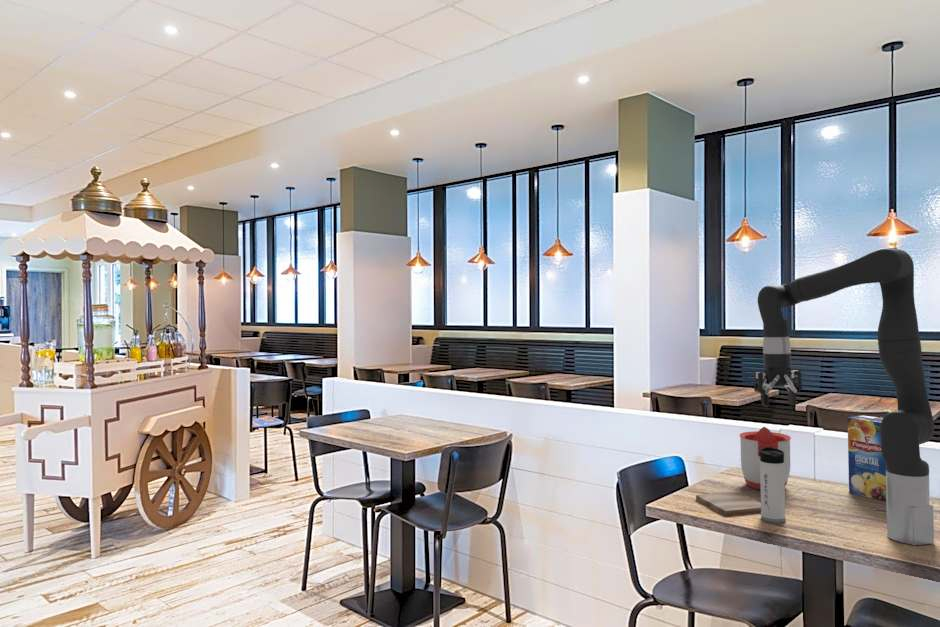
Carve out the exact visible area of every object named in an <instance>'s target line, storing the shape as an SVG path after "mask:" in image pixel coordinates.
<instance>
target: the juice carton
mask: <svg viewBox="0 0 940 627" xmlns="http://www.w3.org/2000/svg"><path fill="white" fill-rule="evenodd" d="M883 418H884V417H877V416H868V415H864V414H863V415H855V416H850V417H849V416H848V417H847V443H848V444H847V448H848V449H847V452H848V453H847V454H848V455H847V456H848V457H847V458H848V460H847V461H848V462H847V463H848V493H850V494H854V495H858V496H862V497H865V498H869V499H874V500H876V501H880V502H881V501H882V502H885V503H886V464H885V462H884V460H883V457H882V448H881V433H880V429H881V422H882V419H883Z"/></svg>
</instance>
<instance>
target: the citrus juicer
mask: <svg viewBox="0 0 940 627" xmlns="http://www.w3.org/2000/svg"><path fill="white" fill-rule="evenodd" d="M739 437H740V440H739V441H740V466H741V472H742V475H743V478H744V481H745V483H746V485H747V486H748V487H751V488H753V489H754V490H761V482H760V458H761V457H760V450H761V449H763V448H765V447H772V448H775V449H779V450H781V451H783V452H784V469H785V487H786V486H787V484H788V481H789V477H790V473H791V472H790V471H791V439H792V438H791V436H789V435H787V434H786V433H785V434H784V433H781V432H773V431H771V430H770V429H768V428H767V427H766V426H762V428H760V429H759V430H758V431H755V430H754V431H745V432H741V433H739Z"/></svg>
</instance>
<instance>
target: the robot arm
mask: <svg viewBox="0 0 940 627" xmlns="http://www.w3.org/2000/svg"><path fill="white" fill-rule="evenodd" d="M914 265H915V264H914V260H913V258H912V256H911V255H910V254H909V253H908V252H907V251H905V250H902V249H900V248H891V247H883V248H882V247H881V248H879V249H876V250H873V251H871V252H869V253H867V254H865V255H863V256H860V257H859V258H857V259H855V260H852V261H849V262H847V263H844V264H841V265H839V266H836V267H833V268H828V269H825V270H822V271H819V272H814V273H812V274H807V275H804V276H801V277H797V278H795V279H793V280H792V281H791V282H788V283H785V284H781V285H766V286H763V287H762V288H761V289H760V290H759V292H758V295H757V306H758V310H759V314H760V318H761V321H762V324H763V326H762V327H763V328H762V331H763V332H762V333H763V340H762V358H763V368H764V372H761V371H755V372H754V373H753V374H754V380H753V381H754V382H753V383H754V384H753V387H754V388H753V390H754V392H756V393H758V394H759V395H760V403H761V405H762V407H765V408H768V407H770V396H769V392H770V391H771V390H772V389H773V388H774V387H778V386H782V387H785V389H786V390H787V391H788V392H787V403H788V406H795V405H796V403H797V392H799V391H802V390H803V382H802V372H801V370H798V369H793V370H791V367H792V352H791V351H792V349H791V346H792V345H791V340H790V323H789V320H788V318H786V317H785V316H784V315H783V310H782V309H786V308H790V307H792V306H795V305H798V304H800V303H802V302H808V301H812V300H816V299H819V298H823V297H826V296H830V295H832V294H834V293H836V292H839V291H841V290H844V289H847V288H851V287H853V286H854V287H855V286H858V285H866V284H875V283H877V284H878V283H879V285H880V291H881V297H882V308H881V312H880V314H881V315H880V317H879V322H878V323H879V324H878V327H877V345H878V353H879V354H878V356H879V359H880V362H881V366H883V369H884V370H885V373H886V374H887V375H888V377H889V379H890V381H891V382H892V384H893V386H894V390H895V394H896V399H897V400H896V402H897V410H894V411H890V412H888V413H886V414H885V415H884V416H883V417H882V418H883V419H882V422H881V429H880V433H881V448H882V457H883V460H884V462H885V464H886V502H885V503H886V536H887V537H888V538H889V539H891V540H893V541H895V542H899V543H901V544H902V543H903V544H908V545H912V546H923V545H931V544H935V533H934V532H935V530H934V525H935V524H934V517H935V516H934V506H933V505H932V504H931V503H930V501H931V500H930V466H929V463H928V462H927V461H925V460H923V459H922V458H921V453H920V452H921V451H920V445H922V444H925V443H926V444H927V443H928V442H929V441H930V440H932V439H933V436H934V434H935V433H934V432H935V423H934V418H933V417H934V416H933V413H932V408H931V406H930V400H929V397H928V393H927V388H926V387H927V386H926V378H925V377H926V376H925V371H924V366H923V365H924V363H923V353H922V343H921V337H920V336H921V335H920V331H919V325H918V324H919V323H918V316H917V309H916V304H915V292H914V291H915V284H914V283H915V282H914V281H915V267H914ZM791 378H792V380H791ZM764 379H765V380H764Z"/></svg>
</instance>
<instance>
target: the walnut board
mask: <svg viewBox="0 0 940 627" xmlns="http://www.w3.org/2000/svg"><path fill="white" fill-rule="evenodd" d="M695 500H696V501H697V502H699V503H701V504H703V505H704V506H706V507H709V508H710V509H712V510H714V511H715V512H717V511H718V513H720V514H721V515H723V516H726V517H730V516H731V517H732V516H737V515H738V516H742V515H750V514H761V501H757V500H755V499H753V498H751V497H749V496H748V495H747V496H746V495H745V494H742V493H740V492H738V491H737V490H736V491H729V492H728V491H727V492H725V491H724V492H715V493H705V494H696V495H695Z"/></svg>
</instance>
